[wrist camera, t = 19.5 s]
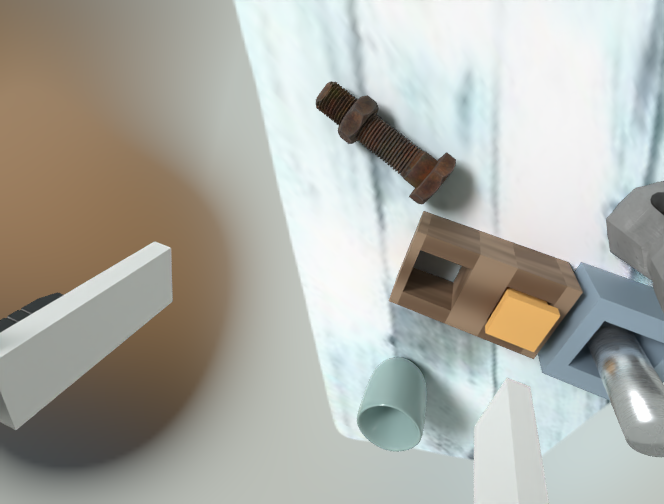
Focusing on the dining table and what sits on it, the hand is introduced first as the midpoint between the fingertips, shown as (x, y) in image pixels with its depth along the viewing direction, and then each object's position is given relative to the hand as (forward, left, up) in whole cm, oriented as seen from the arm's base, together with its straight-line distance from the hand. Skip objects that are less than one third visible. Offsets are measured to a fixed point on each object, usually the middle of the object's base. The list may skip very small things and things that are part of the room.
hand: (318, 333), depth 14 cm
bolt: (-1, -4, -31) cm, 31 cm away
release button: (+10, +15, -29) cm, 34 cm away
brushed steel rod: (+10, +24, -31) cm, 40 cm away
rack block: (+10, +24, -31) cm, 40 cm away
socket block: (+10, +11, -31) cm, 34 cm away
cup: (+29, +8, -31) cm, 43 cm away
